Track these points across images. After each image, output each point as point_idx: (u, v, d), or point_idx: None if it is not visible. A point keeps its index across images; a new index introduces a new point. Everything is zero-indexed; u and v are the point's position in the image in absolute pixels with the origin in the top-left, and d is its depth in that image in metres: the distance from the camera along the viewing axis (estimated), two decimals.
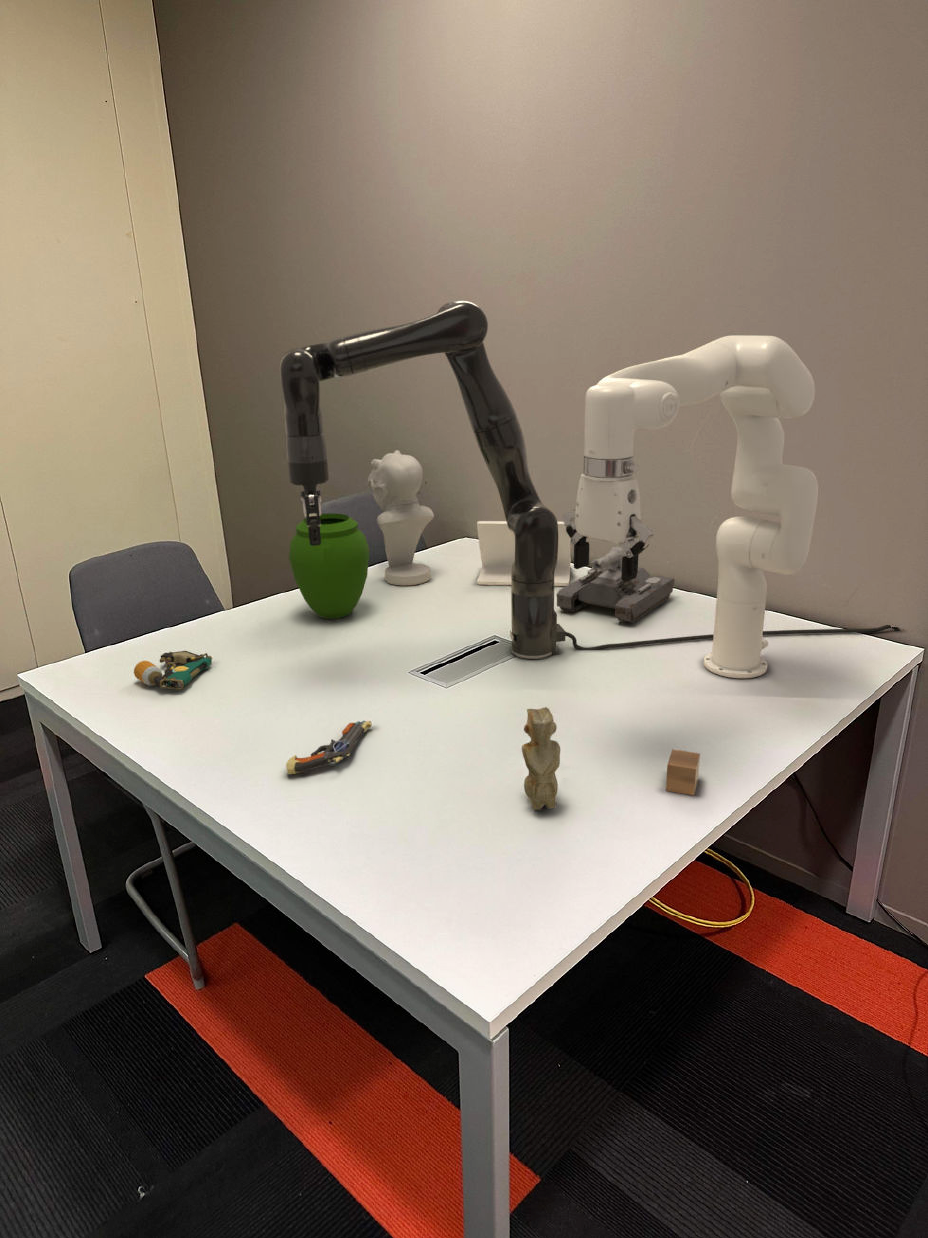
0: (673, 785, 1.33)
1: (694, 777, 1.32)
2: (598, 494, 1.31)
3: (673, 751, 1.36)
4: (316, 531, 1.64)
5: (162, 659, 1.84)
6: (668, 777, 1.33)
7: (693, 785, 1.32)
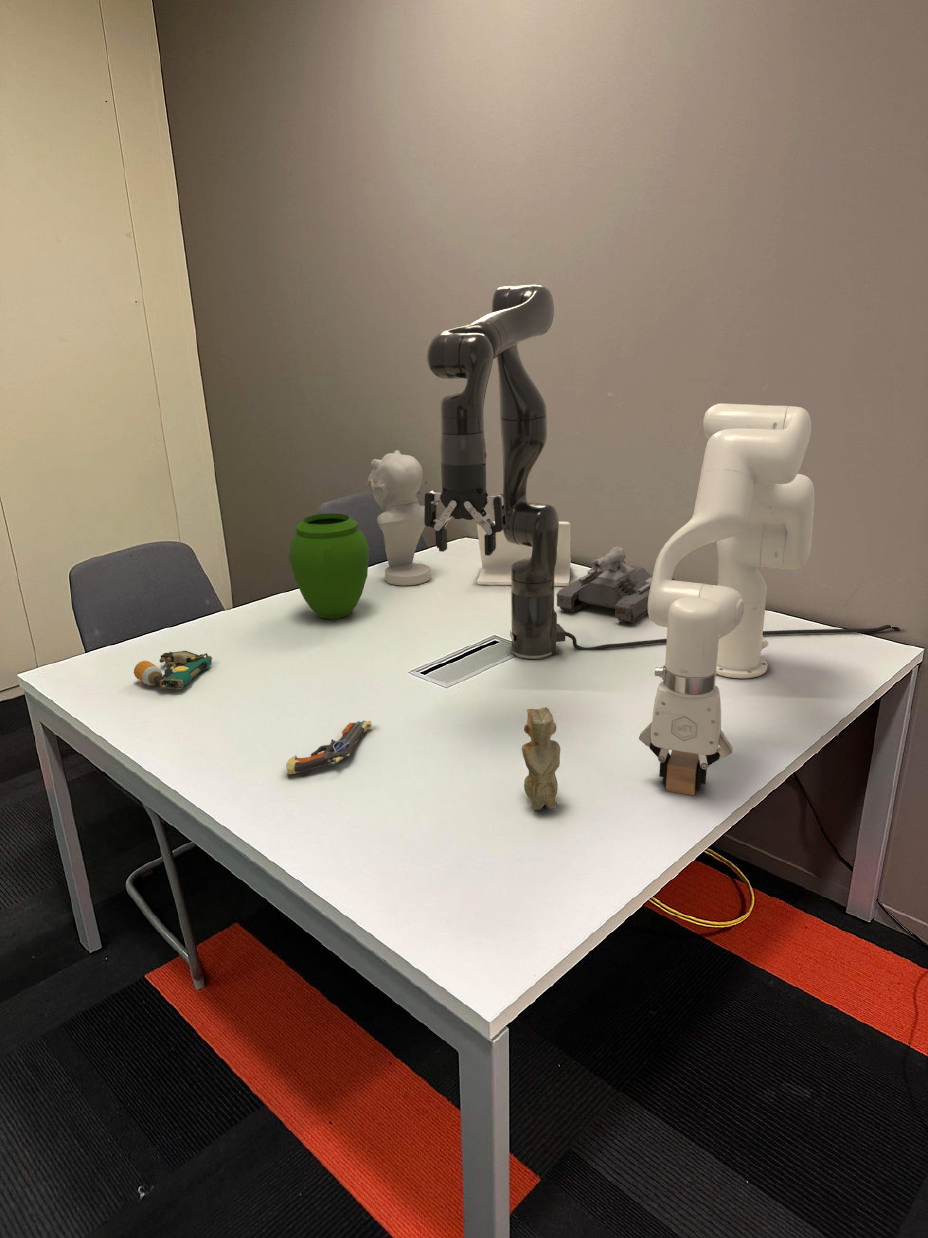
0: (673, 785, 1.33)
1: (694, 777, 1.32)
2: None
3: (673, 751, 1.36)
4: None
5: (162, 659, 1.84)
6: (668, 777, 1.33)
7: (693, 785, 1.32)
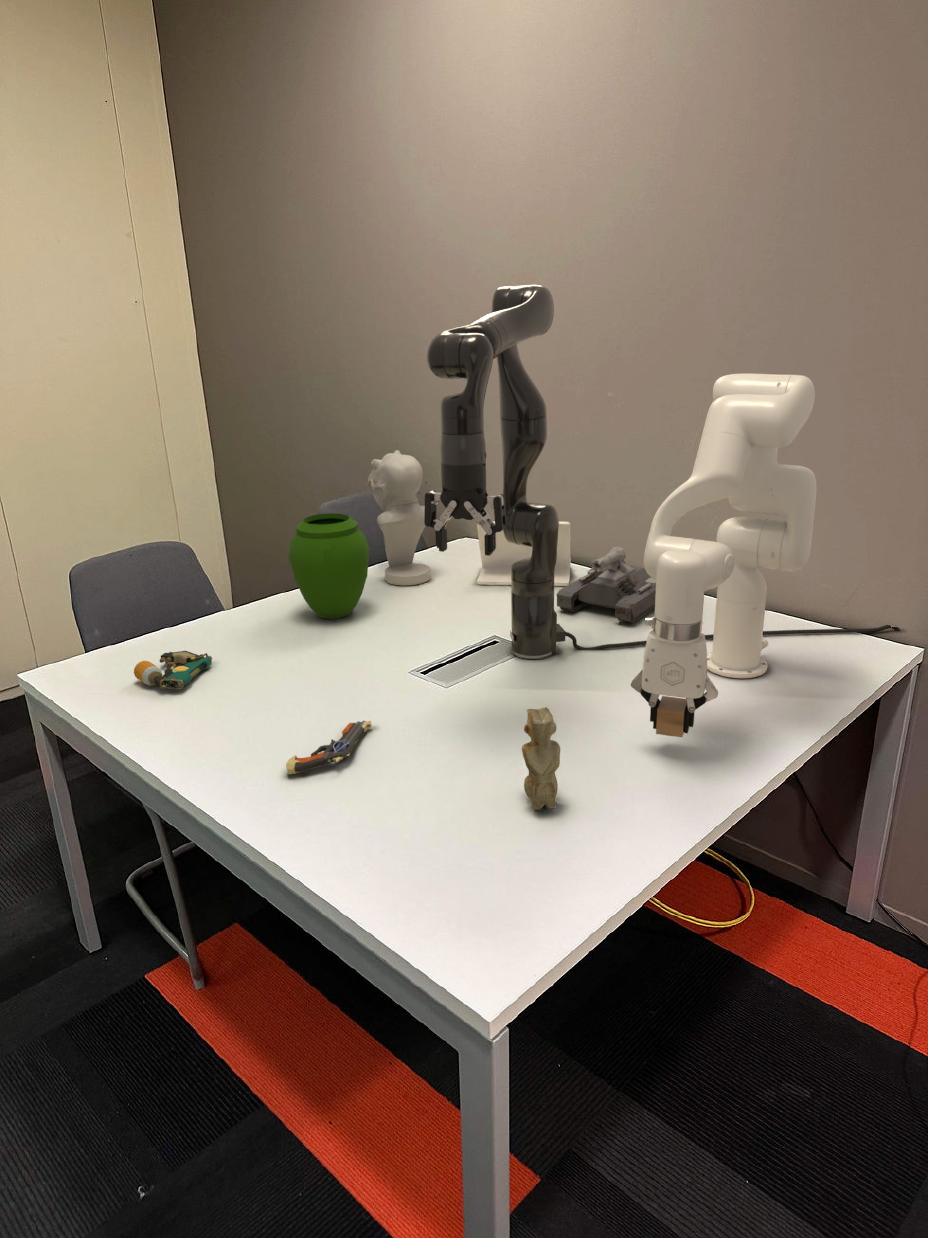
0: (663, 728, 1.42)
1: (682, 720, 1.40)
2: None
3: (663, 697, 1.45)
4: None
5: (162, 659, 1.84)
6: (658, 721, 1.42)
7: (681, 728, 1.41)
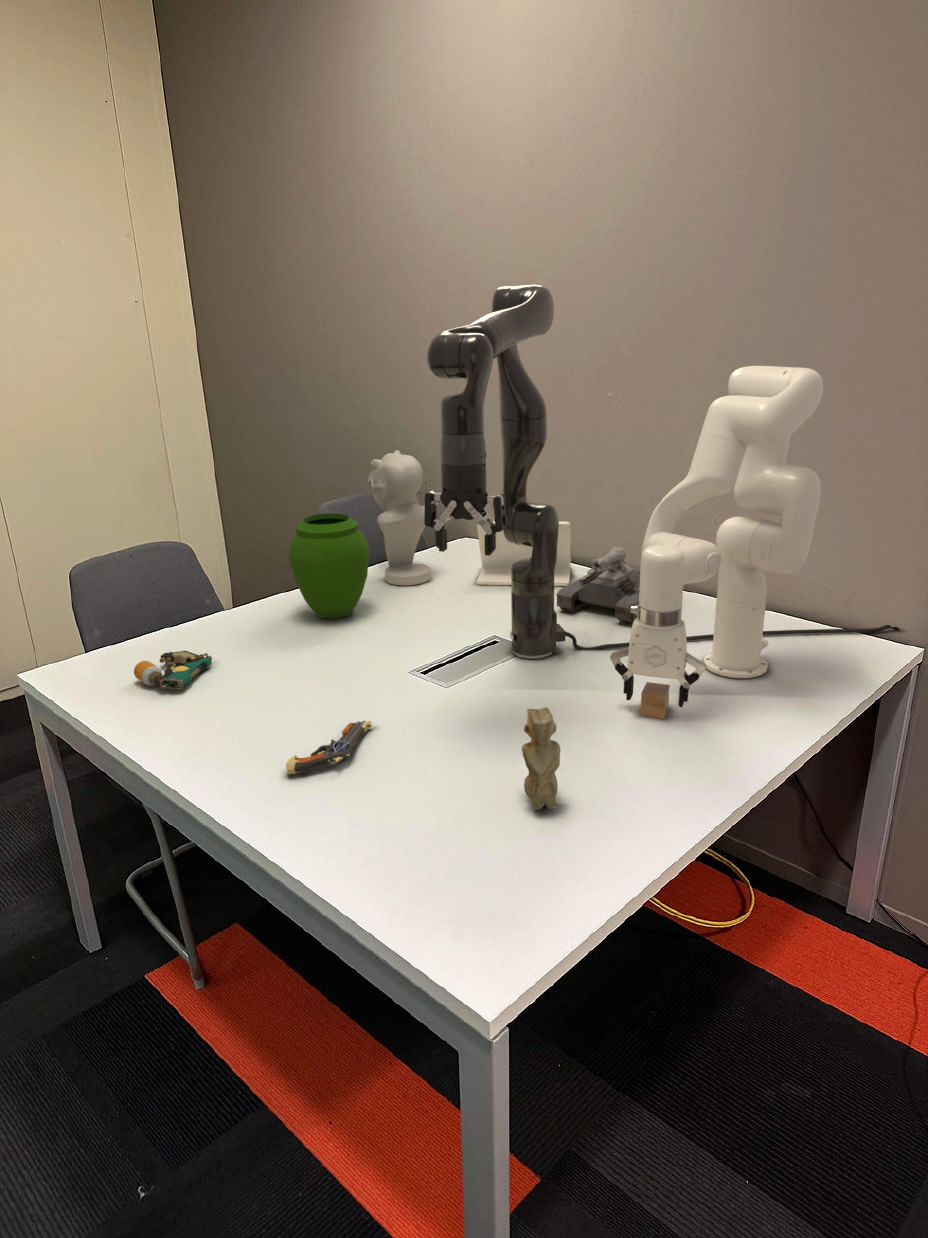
0: (646, 711, 1.57)
1: (664, 703, 1.55)
2: None
3: (647, 683, 1.60)
4: None
5: (162, 659, 1.84)
6: (642, 704, 1.57)
7: (663, 710, 1.56)
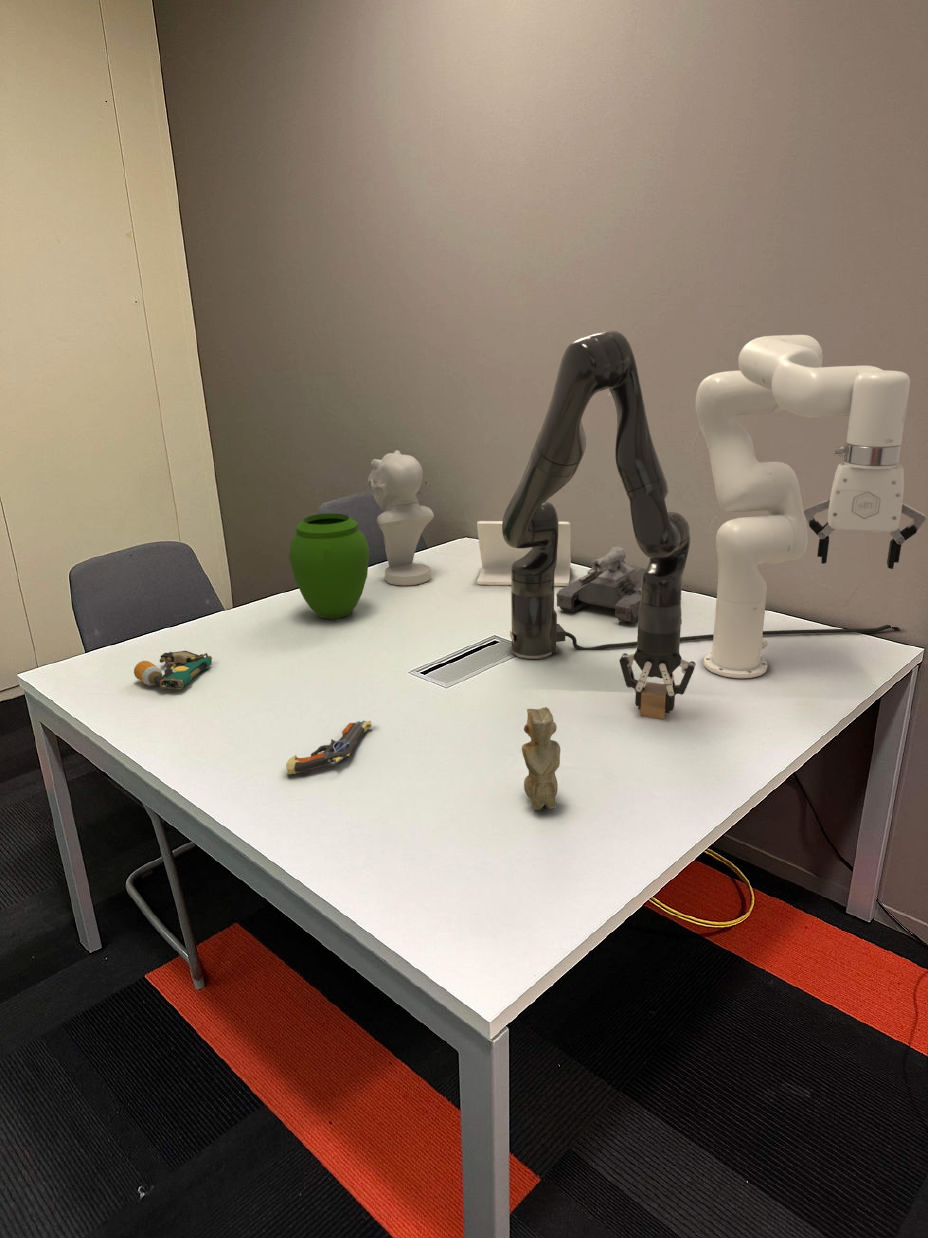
0: (646, 711, 1.57)
1: (664, 703, 1.55)
2: None
3: (647, 683, 1.60)
4: None
5: (162, 659, 1.84)
6: (642, 704, 1.57)
7: (663, 710, 1.56)
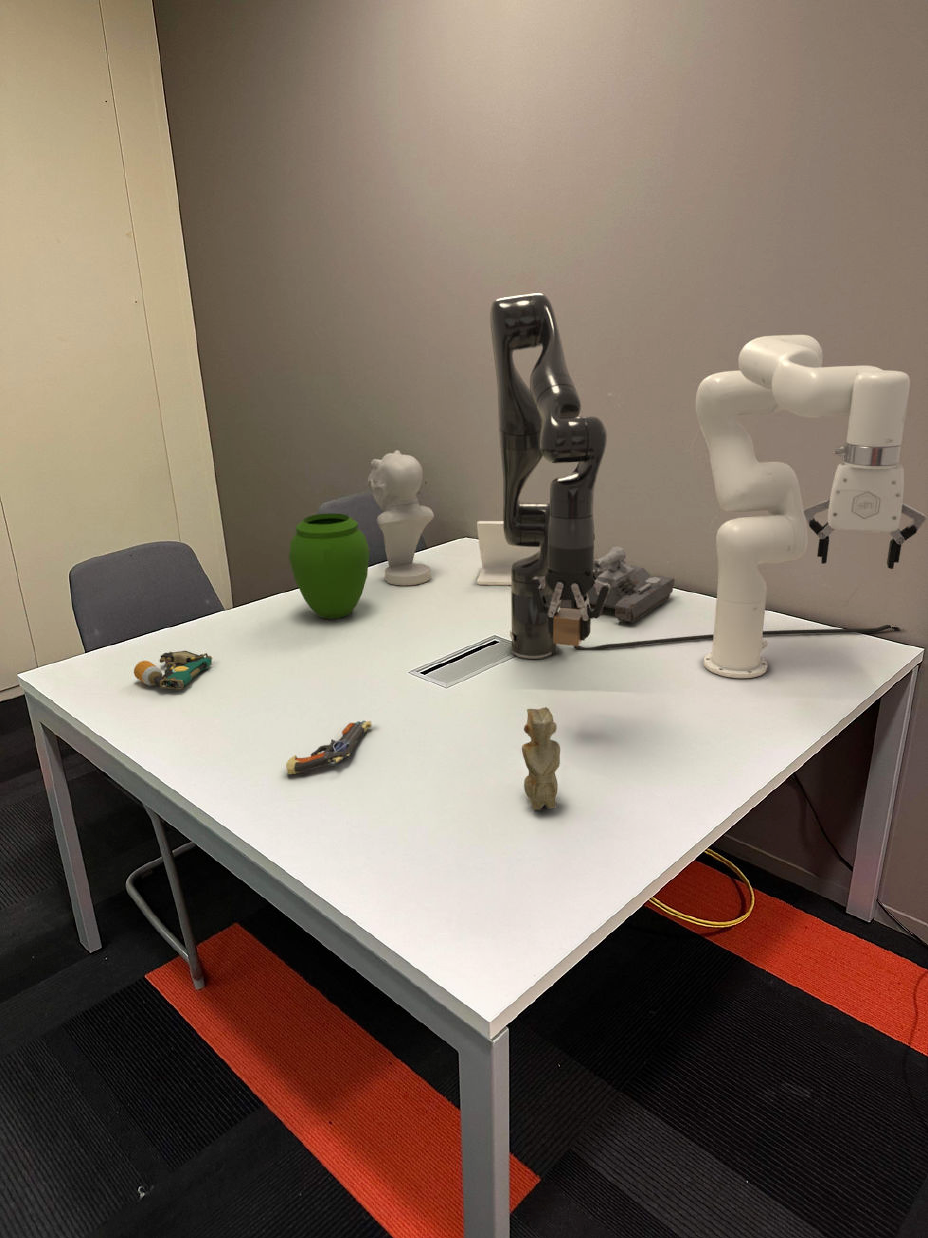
0: (559, 637, 1.44)
1: (577, 628, 1.42)
2: None
3: (561, 609, 1.47)
4: None
5: (162, 659, 1.84)
6: (555, 630, 1.44)
7: (577, 636, 1.43)
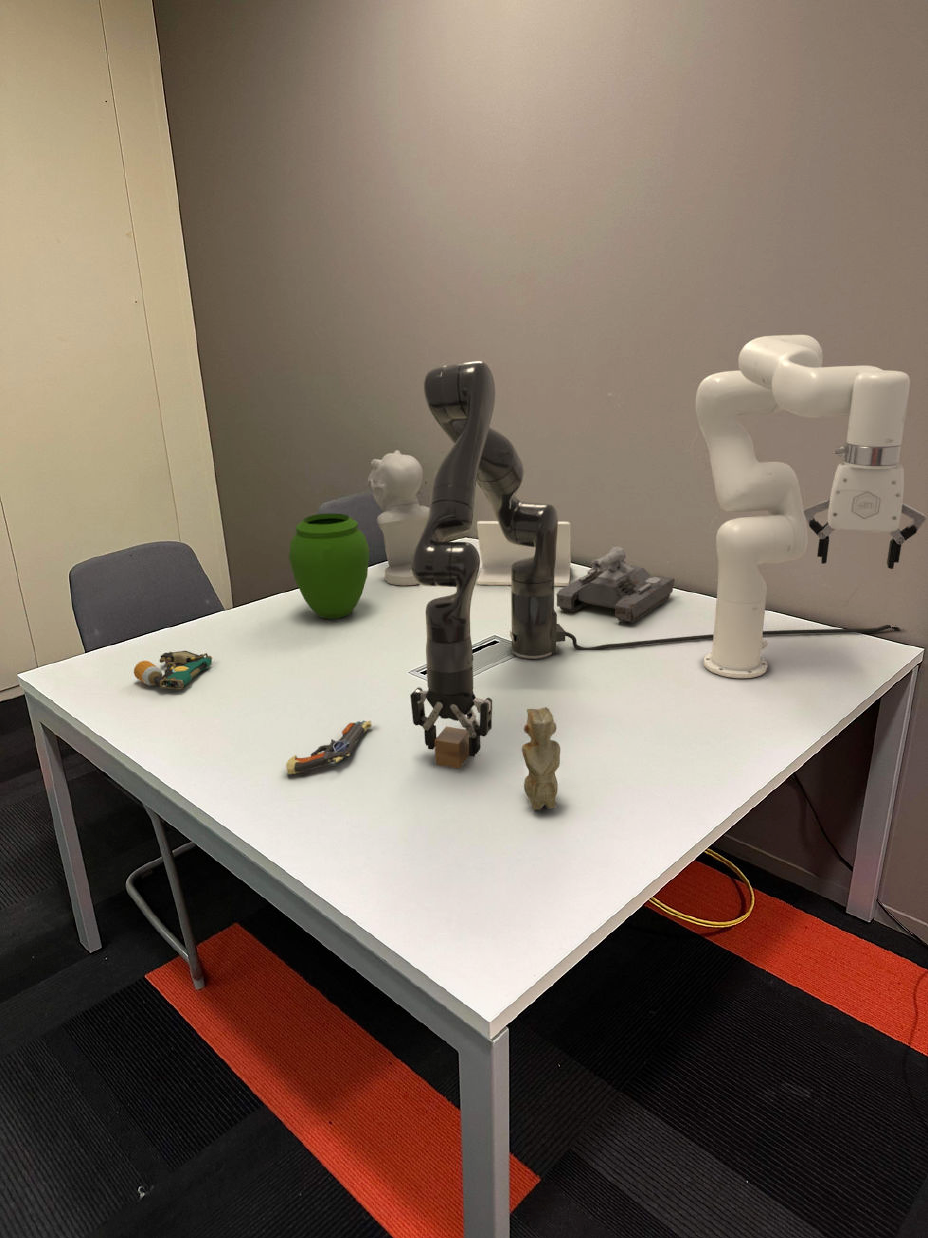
0: (441, 759, 1.43)
1: (458, 751, 1.41)
2: None
3: (445, 728, 1.46)
4: None
5: (162, 659, 1.84)
6: (436, 752, 1.43)
7: (458, 759, 1.41)
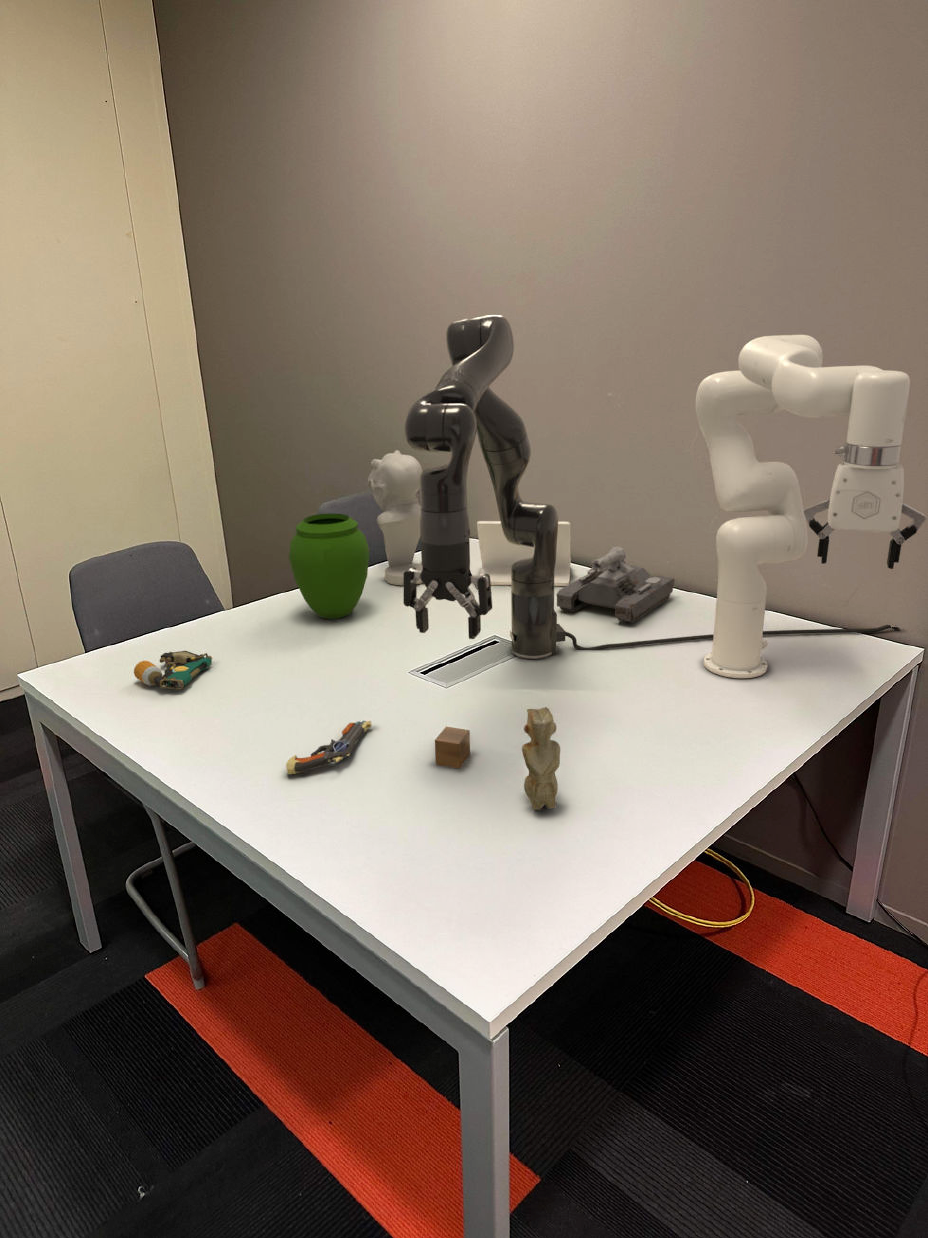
0: (441, 759, 1.43)
1: (458, 751, 1.41)
2: None
3: (445, 728, 1.46)
4: None
5: (162, 659, 1.84)
6: (436, 752, 1.43)
7: (458, 759, 1.41)
